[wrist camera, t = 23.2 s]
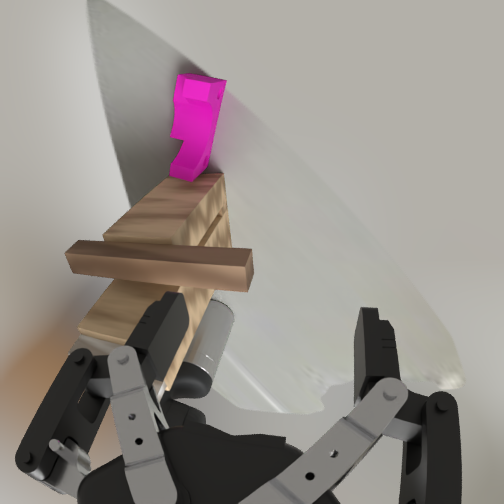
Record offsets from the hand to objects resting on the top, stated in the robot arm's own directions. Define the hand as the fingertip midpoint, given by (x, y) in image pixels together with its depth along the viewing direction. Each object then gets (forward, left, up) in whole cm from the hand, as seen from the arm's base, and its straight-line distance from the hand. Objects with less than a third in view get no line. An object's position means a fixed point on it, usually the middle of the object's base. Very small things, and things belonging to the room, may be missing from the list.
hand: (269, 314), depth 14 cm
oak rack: (-15, +19, -38) cm, 45 cm away
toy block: (+2, +17, -39) cm, 42 cm away
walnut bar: (-10, +17, -17) cm, 26 cm away
